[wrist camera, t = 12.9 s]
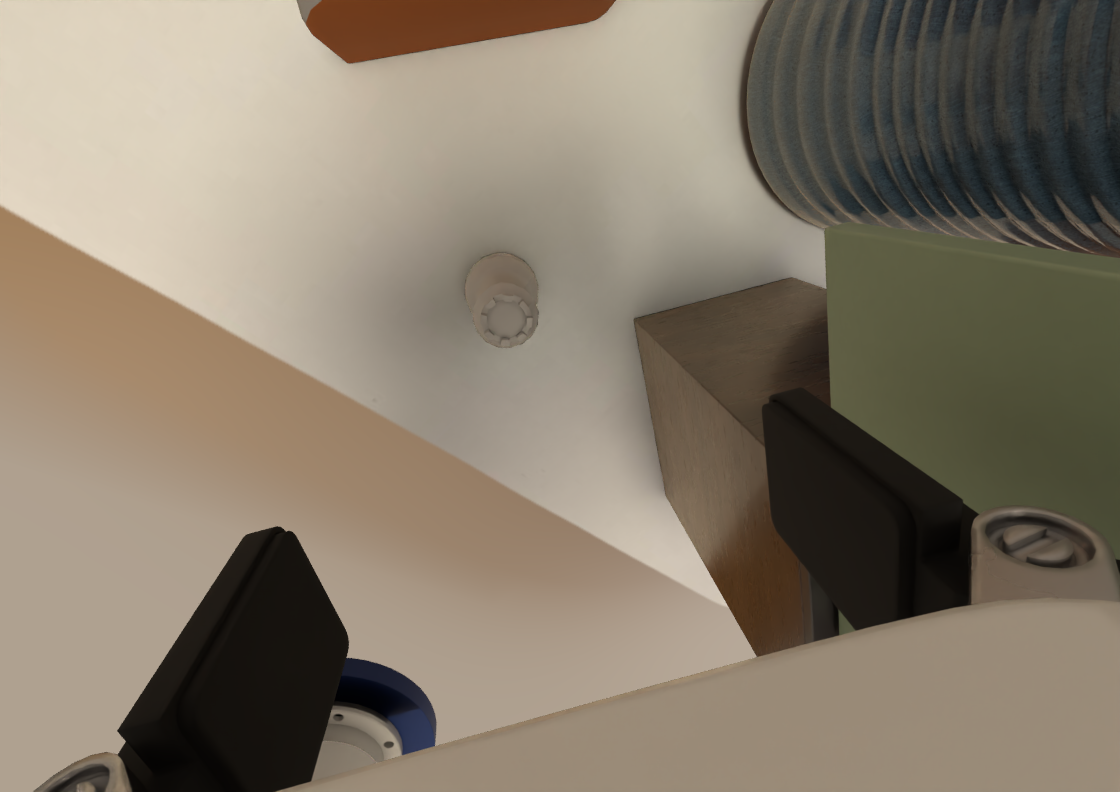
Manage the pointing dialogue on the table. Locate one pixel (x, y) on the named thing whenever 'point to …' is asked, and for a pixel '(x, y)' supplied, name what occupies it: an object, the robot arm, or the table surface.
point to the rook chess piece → (503, 299)
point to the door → (982, 366)
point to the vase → (944, 117)
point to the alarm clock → (433, 22)
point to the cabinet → (738, 444)
